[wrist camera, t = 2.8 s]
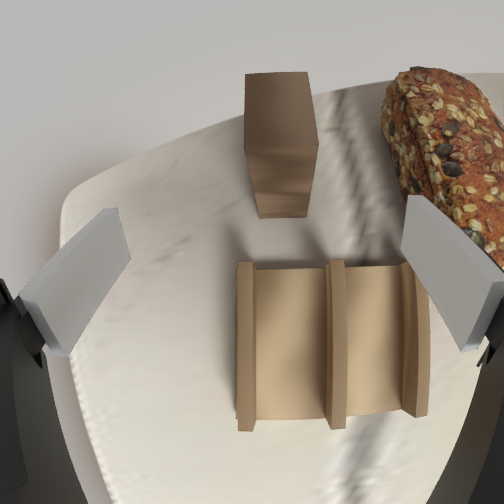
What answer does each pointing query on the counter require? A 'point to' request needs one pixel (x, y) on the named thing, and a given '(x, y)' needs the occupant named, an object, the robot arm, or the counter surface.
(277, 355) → the divided tray
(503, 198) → the bread
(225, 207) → the counter surface
